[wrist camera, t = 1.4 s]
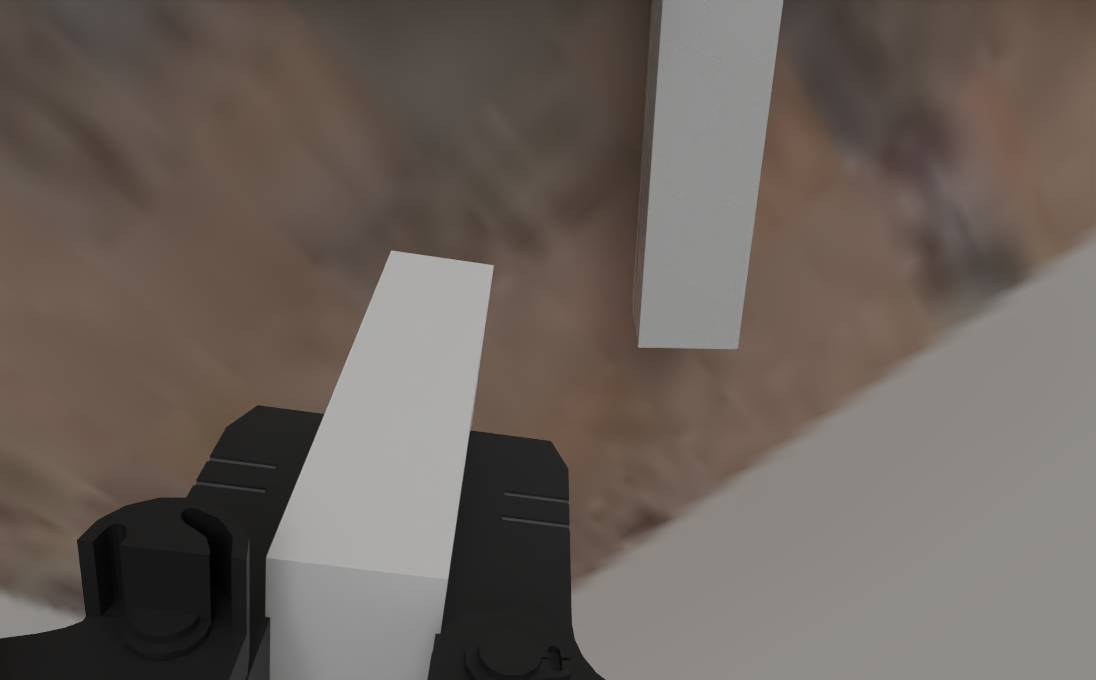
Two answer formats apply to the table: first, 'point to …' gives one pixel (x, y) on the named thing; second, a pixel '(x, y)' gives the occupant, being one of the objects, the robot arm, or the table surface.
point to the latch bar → (701, 167)
